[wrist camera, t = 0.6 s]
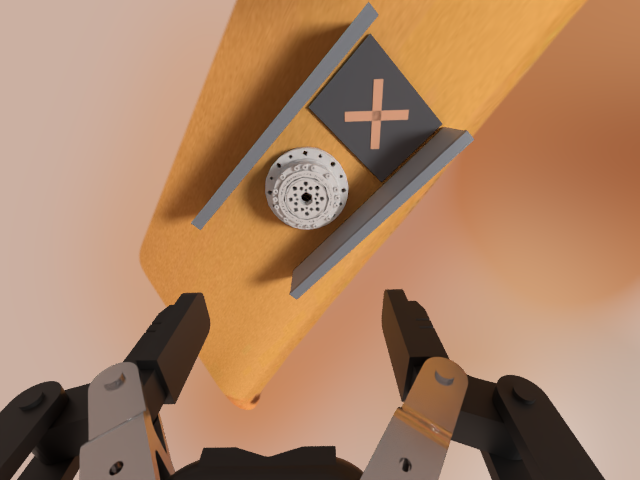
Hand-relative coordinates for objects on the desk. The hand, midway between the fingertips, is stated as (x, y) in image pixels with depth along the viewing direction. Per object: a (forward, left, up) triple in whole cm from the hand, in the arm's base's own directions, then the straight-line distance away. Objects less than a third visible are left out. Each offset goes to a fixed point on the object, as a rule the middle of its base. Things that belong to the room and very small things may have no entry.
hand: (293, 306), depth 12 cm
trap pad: (-10, +1, -24) cm, 26 cm away
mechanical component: (+1, +1, -24) cm, 24 cm away
